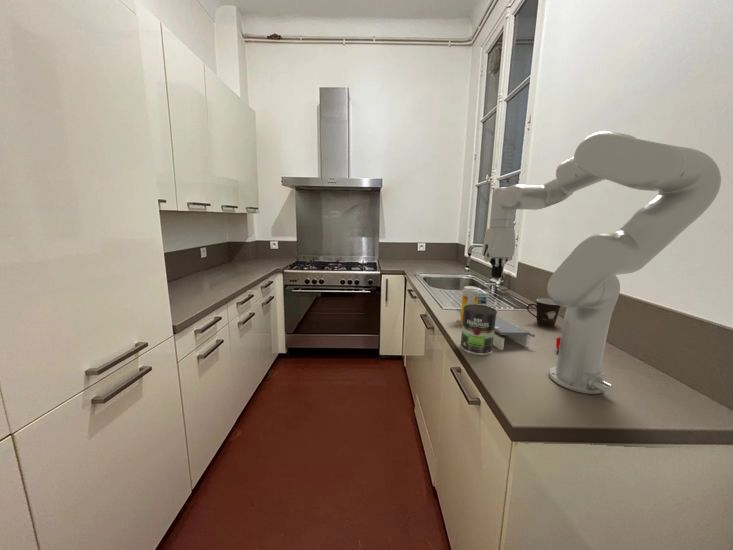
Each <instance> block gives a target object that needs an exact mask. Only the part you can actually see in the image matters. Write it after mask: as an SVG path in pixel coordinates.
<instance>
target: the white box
mask: <svg viewBox="0 0 733 550" xmlns="http://www.w3.org/2000/svg"><path fill="white" fill-rule="evenodd" d="M506 337H507V338H509V339H511V340H512V339H513V340H512V341H514V342H516V343H517V344H519V343H520V344H519V345H521V344H522V346H523V347H524V348H529V346H530V345H529V344H530V337H532V338H535V337H536V335H535V333H532V332H530V334H529V335H506ZM504 344H505V338H504V337H503V336H502V335H500V334H499V333H497V332H494V337H493V346H494V347H496V348H497V349H499V350H500V351H502V350H504V348H505V347H504V346H505V345H504Z"/></svg>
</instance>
